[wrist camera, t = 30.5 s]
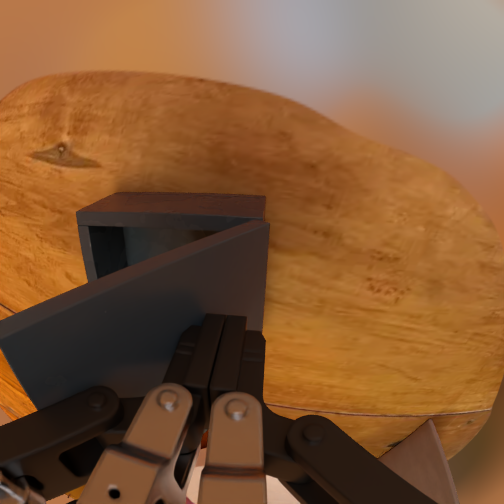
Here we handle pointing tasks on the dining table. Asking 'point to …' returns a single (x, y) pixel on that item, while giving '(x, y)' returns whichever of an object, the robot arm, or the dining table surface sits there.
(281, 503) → the candle holder
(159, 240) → the box
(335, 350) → the dining table surface
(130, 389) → the box lid
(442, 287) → the dining table surface
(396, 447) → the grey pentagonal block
